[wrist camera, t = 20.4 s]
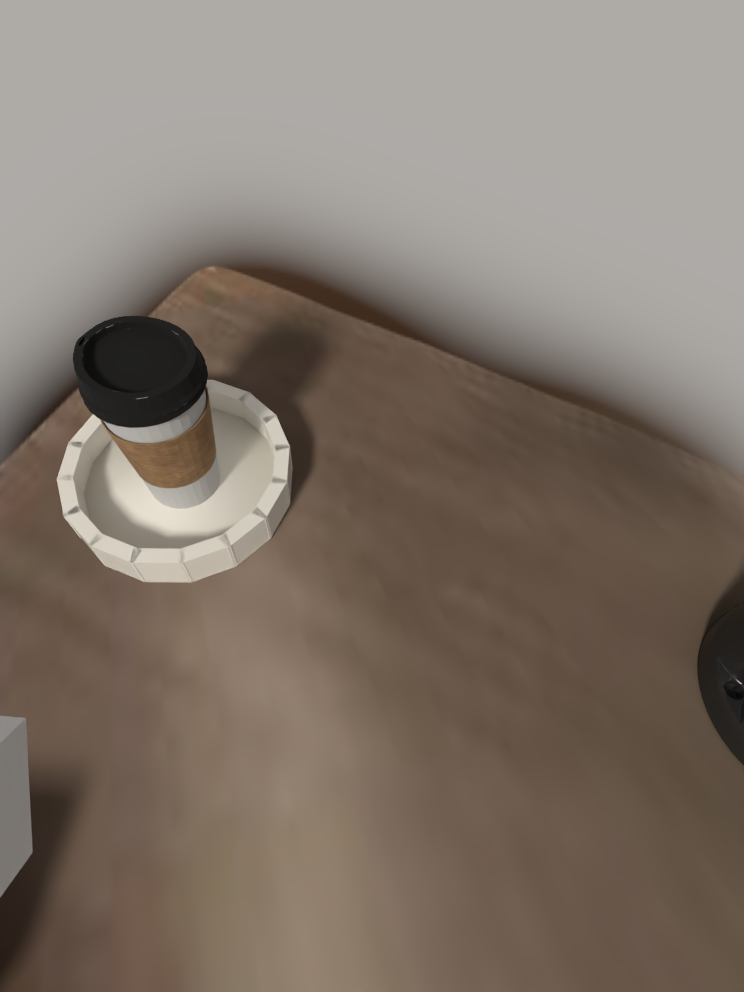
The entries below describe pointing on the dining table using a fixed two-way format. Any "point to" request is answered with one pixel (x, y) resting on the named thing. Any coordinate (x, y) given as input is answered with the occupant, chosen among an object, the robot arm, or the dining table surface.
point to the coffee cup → (152, 404)
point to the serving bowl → (191, 531)
